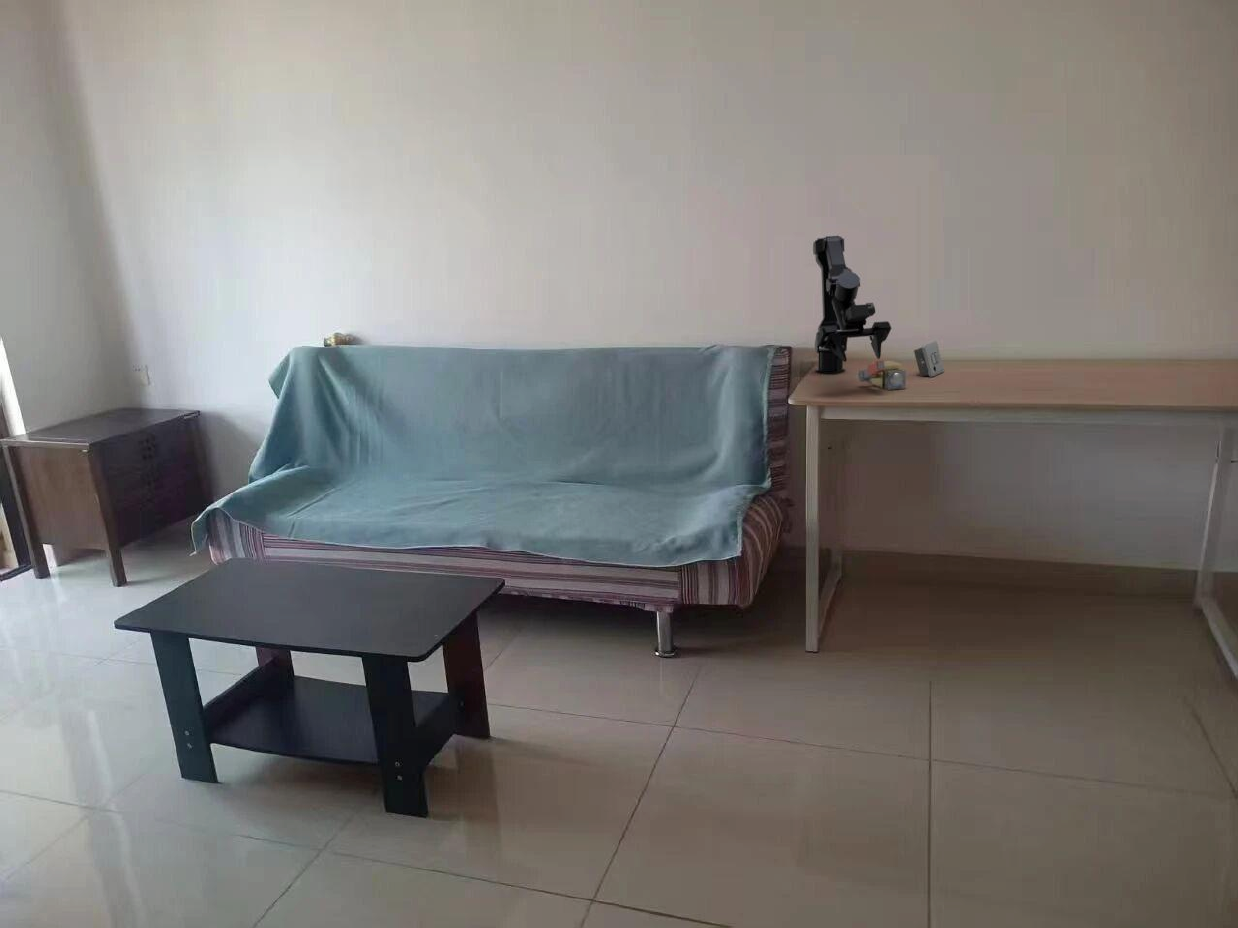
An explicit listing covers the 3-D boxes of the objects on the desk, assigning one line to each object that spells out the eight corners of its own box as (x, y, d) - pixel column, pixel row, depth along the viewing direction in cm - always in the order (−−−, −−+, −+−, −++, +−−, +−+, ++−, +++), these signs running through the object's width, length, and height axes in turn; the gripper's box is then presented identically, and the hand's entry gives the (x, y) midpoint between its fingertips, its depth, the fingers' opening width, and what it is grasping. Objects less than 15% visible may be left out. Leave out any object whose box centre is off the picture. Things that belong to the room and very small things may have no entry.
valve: (857, 381, 270) (858, 360, 268) (884, 379, 271) (885, 358, 269) (879, 391, 255) (880, 369, 254) (908, 388, 256) (908, 366, 255)
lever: (857, 372, 263) (876, 360, 250) (864, 371, 263) (883, 359, 250) (859, 382, 263) (877, 371, 249) (866, 382, 263) (885, 370, 250)
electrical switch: (932, 378, 269) (930, 345, 267) (914, 378, 273) (912, 346, 271) (944, 372, 276) (942, 340, 274) (927, 373, 280) (925, 341, 278)
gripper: (820, 295, 248) (836, 343, 240) (889, 290, 251) (906, 337, 243) (810, 322, 258) (825, 369, 250) (876, 317, 260) (892, 363, 252)
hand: (862, 359), depth 249 cm, fingers open, 9 cm apart
